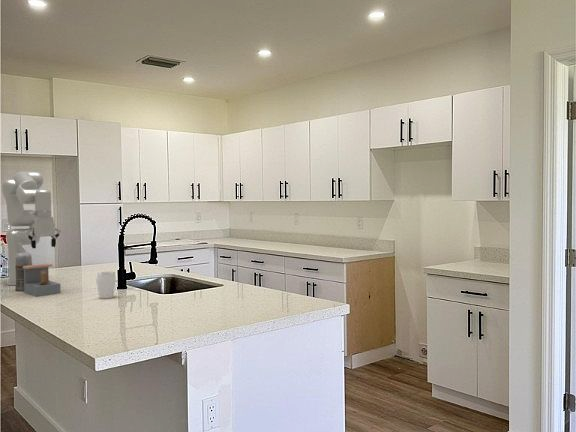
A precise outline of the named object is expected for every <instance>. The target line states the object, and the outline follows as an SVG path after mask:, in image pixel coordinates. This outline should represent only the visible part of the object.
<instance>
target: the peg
mask: <svg viewBox="0 0 576 432" xmlns="http://www.w3.org/2000/svg"><path fill="white" fill-rule="evenodd" d="M48 273H49V269H48V270H42V271H41V285H49V281H50V279H49V280H48Z"/></svg>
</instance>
